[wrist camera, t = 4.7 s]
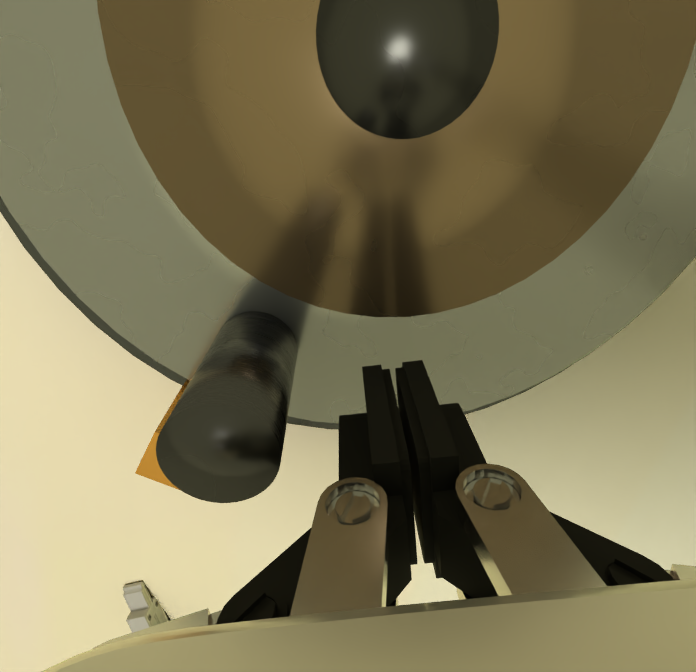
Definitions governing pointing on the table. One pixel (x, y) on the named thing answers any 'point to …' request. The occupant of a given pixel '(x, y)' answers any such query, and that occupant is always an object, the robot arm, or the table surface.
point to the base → (146, 357)
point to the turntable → (348, 194)
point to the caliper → (142, 607)
